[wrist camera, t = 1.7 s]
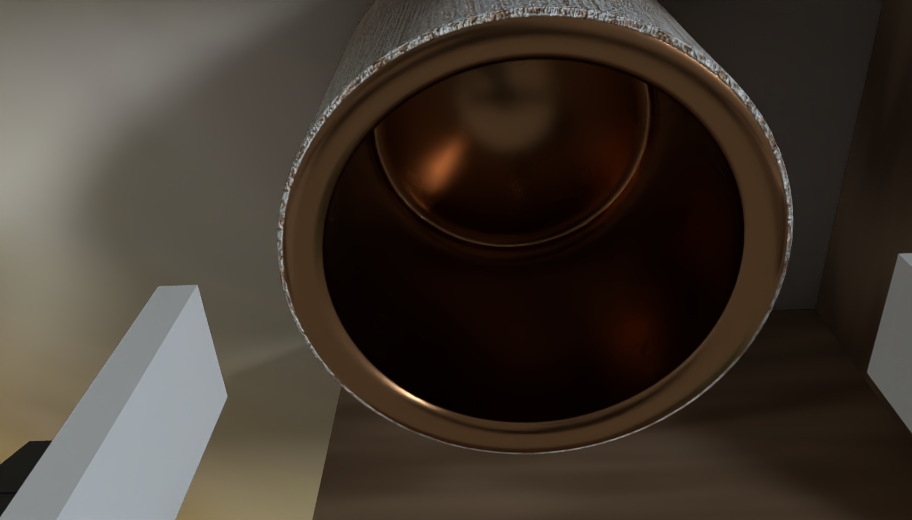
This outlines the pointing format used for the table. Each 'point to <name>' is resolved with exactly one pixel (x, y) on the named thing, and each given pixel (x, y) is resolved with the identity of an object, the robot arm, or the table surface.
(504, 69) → the planter
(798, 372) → the wooden cubby shelf
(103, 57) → the table surface
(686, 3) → the table surface
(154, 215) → the table surface
